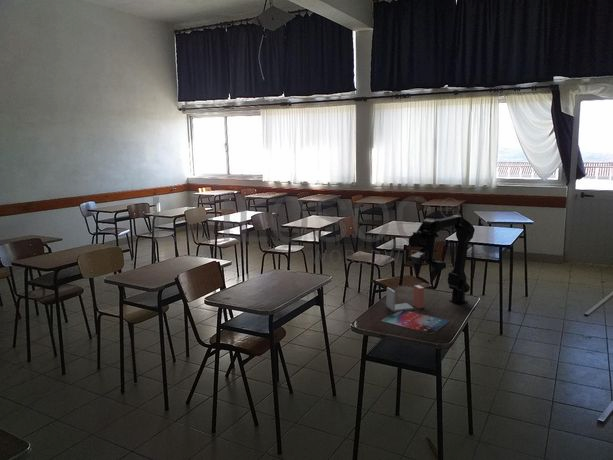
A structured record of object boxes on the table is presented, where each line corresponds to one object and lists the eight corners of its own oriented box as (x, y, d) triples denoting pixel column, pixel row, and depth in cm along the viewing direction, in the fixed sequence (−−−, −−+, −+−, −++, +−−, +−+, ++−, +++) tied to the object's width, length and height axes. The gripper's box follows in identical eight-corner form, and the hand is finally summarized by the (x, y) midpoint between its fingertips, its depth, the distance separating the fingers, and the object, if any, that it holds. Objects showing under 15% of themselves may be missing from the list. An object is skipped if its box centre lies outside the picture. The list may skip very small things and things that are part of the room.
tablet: (400, 310, 228) (400, 308, 228) (450, 322, 213) (450, 320, 212) (379, 322, 214) (379, 320, 214) (431, 336, 198) (432, 334, 198)
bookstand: (406, 304, 234) (407, 285, 233) (413, 309, 228) (414, 289, 226) (386, 307, 231) (386, 287, 229) (392, 312, 225) (393, 291, 223)
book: (418, 304, 235) (419, 284, 233) (423, 307, 230) (424, 287, 228) (413, 305, 234) (413, 285, 232) (418, 308, 230) (418, 288, 228)
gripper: (401, 243, 223) (397, 276, 225) (431, 251, 208) (427, 285, 210) (417, 243, 229) (414, 274, 231) (448, 250, 214) (444, 284, 216)
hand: (424, 279), depth 222 cm, fingers open, 9 cm apart
